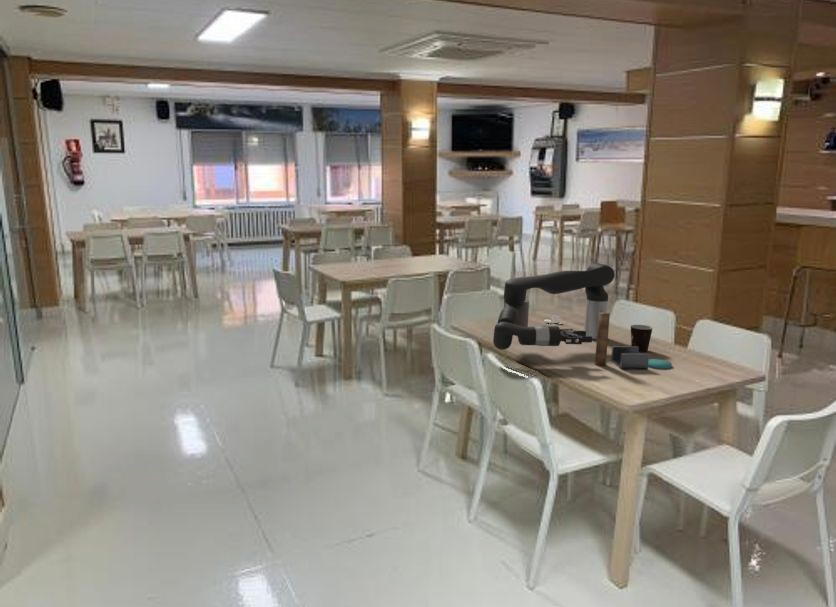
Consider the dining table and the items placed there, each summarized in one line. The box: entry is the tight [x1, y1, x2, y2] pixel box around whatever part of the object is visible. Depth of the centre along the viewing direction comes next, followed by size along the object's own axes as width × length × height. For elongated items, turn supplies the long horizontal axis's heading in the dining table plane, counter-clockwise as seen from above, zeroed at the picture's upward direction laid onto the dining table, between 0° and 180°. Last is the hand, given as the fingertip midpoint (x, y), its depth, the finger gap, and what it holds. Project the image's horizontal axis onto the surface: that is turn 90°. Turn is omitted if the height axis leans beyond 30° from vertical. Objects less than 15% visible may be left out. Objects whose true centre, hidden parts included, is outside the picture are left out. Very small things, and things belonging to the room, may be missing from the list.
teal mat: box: [648, 358, 673, 370], centre depth 245 cm, size 10×10×1 cm
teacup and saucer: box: [543, 314, 562, 324], centre depth 312 cm, size 9×8×4 cm
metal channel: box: [610, 345, 650, 371], centre depth 244 cm, size 12×10×6 cm
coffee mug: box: [630, 324, 653, 353], centre depth 263 cm, size 12×9×10 cm
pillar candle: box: [516, 299, 530, 327], centre depth 298 cm, size 10×10×15 cm
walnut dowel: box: [594, 312, 611, 367], centre depth 242 cm, size 4×4×20 cm
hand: (588, 336), depth 242 cm, fingers open, 8 cm apart
